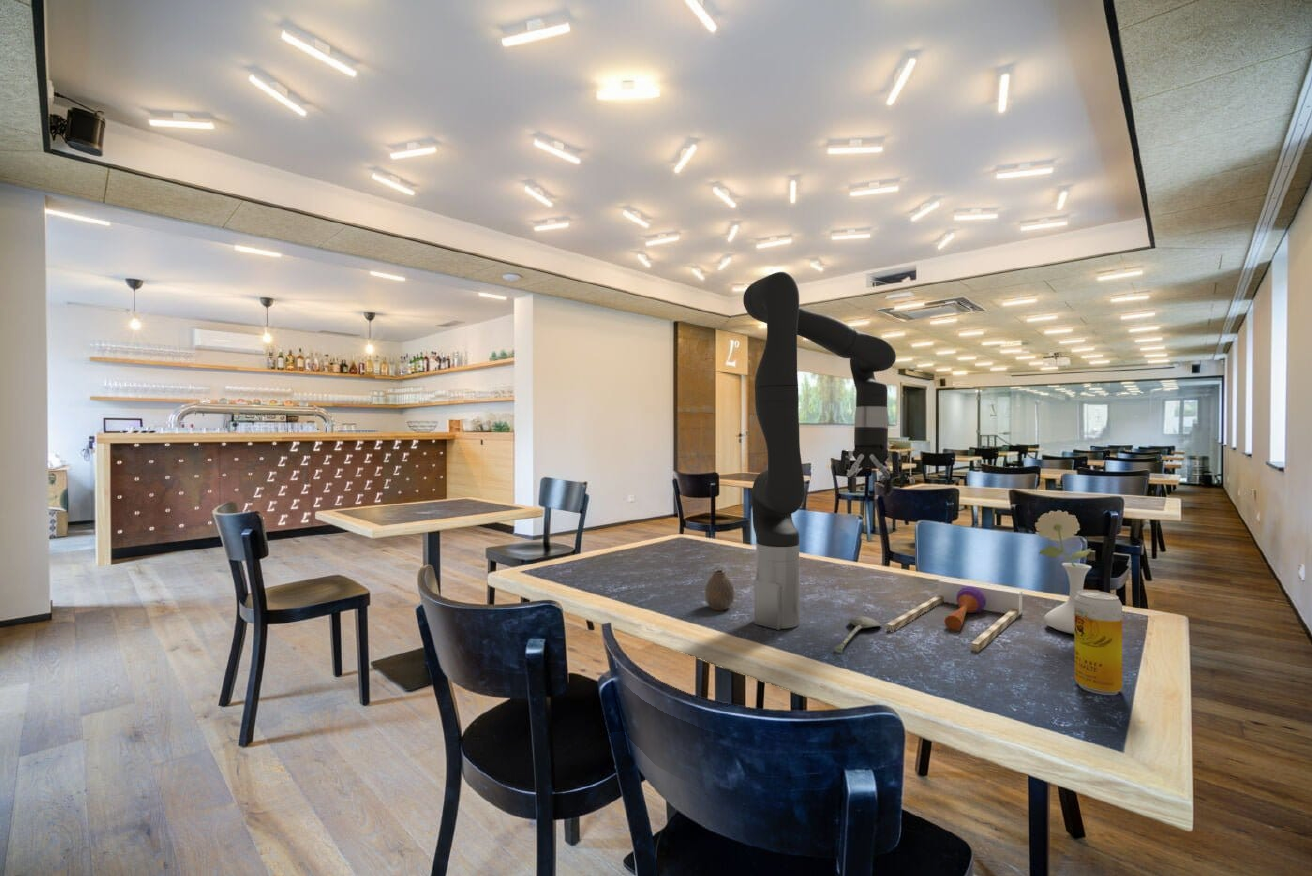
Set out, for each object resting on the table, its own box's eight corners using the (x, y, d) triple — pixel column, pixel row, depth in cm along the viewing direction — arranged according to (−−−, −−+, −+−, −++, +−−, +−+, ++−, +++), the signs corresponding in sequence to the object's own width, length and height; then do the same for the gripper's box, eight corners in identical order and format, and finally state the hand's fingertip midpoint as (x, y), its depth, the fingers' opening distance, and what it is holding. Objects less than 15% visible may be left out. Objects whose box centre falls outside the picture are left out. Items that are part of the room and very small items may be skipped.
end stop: (1018, 615, 130) (1018, 593, 130) (938, 601, 142) (938, 580, 142) (1022, 612, 132) (1022, 591, 132) (942, 598, 144) (942, 578, 144)
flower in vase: (1114, 631, 120) (1114, 511, 120) (1108, 645, 111) (1108, 516, 112) (1040, 618, 129) (1039, 506, 129) (1029, 630, 120) (1029, 510, 120)
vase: (738, 606, 138) (738, 569, 138) (726, 613, 132) (726, 575, 132) (713, 602, 142) (713, 566, 142) (699, 609, 136) (699, 571, 136)
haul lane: (978, 652, 108) (978, 644, 108) (886, 630, 120) (886, 623, 120) (1018, 615, 130) (1018, 609, 130) (938, 601, 142) (938, 594, 142)
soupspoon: (885, 630, 124) (854, 626, 128) (884, 614, 124) (853, 610, 128) (855, 658, 106) (820, 652, 110) (854, 639, 106) (819, 634, 110)
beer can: (1065, 681, 95) (1064, 590, 95) (1099, 679, 96) (1099, 589, 96) (1096, 697, 89) (1096, 600, 89) (1132, 695, 89) (1132, 599, 90)
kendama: (934, 609, 123) (957, 583, 138) (941, 637, 122) (963, 608, 138) (965, 609, 119) (984, 583, 134) (971, 638, 119) (990, 608, 134)
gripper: (835, 425, 140) (834, 492, 140) (894, 425, 130) (893, 497, 130) (850, 426, 145) (848, 491, 145) (907, 426, 135) (906, 495, 135)
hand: (869, 494), depth 137 cm, fingers open, 8 cm apart
